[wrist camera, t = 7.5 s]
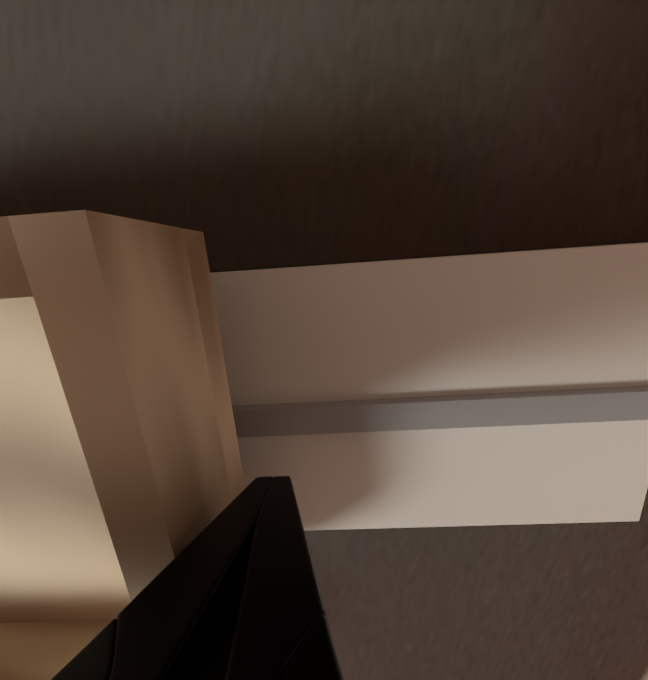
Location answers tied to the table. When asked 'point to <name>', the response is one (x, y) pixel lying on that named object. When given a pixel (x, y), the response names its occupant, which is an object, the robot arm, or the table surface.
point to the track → (445, 386)
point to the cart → (102, 423)
